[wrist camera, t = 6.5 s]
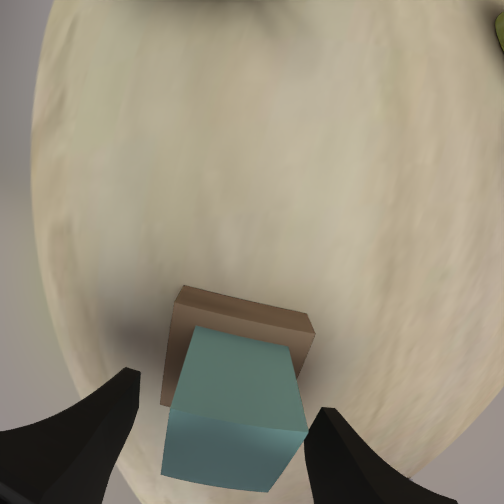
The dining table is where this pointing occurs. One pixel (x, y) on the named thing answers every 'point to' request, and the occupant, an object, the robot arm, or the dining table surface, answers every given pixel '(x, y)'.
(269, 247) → the dining table surface
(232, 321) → the base brick
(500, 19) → the plant pot
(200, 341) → the teal brick
